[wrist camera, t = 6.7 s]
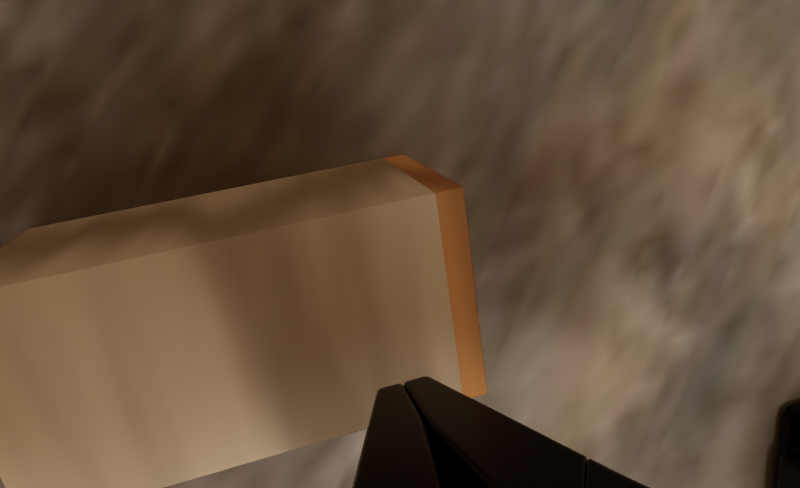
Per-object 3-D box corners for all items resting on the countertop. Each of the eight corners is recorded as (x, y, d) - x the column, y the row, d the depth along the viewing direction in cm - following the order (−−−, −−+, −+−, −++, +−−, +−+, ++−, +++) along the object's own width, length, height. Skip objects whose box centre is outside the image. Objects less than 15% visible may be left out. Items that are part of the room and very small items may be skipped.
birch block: (462, 187, 11) (-86, 305, 9) (487, 393, 13) (25, 527, 11) (402, 154, 16) (28, 228, 14) (426, 308, 17) (94, 392, 16)
